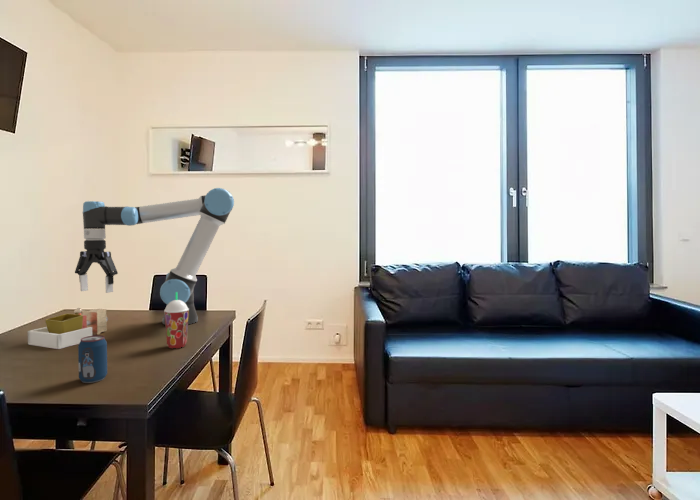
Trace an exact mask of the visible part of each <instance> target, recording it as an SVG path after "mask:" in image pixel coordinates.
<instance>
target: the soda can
mask: <svg viewBox="0 0 700 500" xmlns="http://www.w3.org/2000/svg"><path fill="white" fill-rule="evenodd" d="M77 345H78V346H77V349H78V350H77V351H78V357H77V358H78V378H79V380H80V381H81V383H83V384H84V383H85V384H93V383H97V382H101V381H103V380H104V379H106V376H107V375H108V342H107V339H105V336H104V335H101V334H99V335H95V334H94V335H92V336H88V337H84V338H81V341H80V343H79V344H77Z"/></svg>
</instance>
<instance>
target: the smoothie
mask: <svg viewBox="0 0 700 500" xmlns="http://www.w3.org/2000/svg"><path fill="white" fill-rule="evenodd" d="M163 311H164V313H165V338H166V345H167V346H168V348H169V349H173V348H176V349H181V347H182V348H184V347H185V346H186V344H187V343H188V331H189V329H188V327H189V326H188V325H189V324H188V314H189V308H188V307H187V305H186V303H184V302H183V301H181V300H178V292H176V300H173V301H171V302H170V303H169V304H168V305H167V304H166V307H165V309H164V310H163Z"/></svg>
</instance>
